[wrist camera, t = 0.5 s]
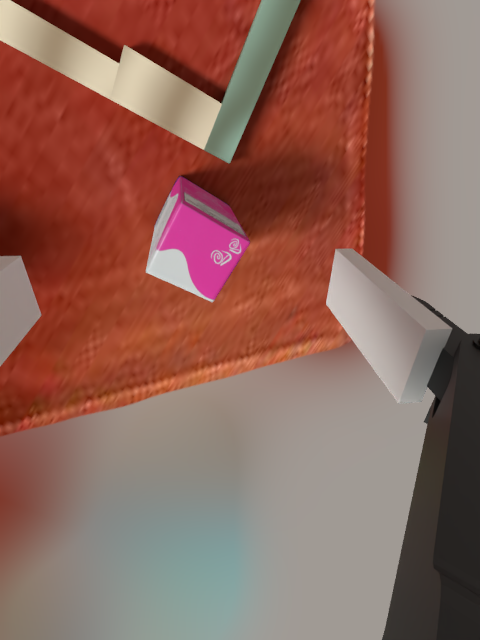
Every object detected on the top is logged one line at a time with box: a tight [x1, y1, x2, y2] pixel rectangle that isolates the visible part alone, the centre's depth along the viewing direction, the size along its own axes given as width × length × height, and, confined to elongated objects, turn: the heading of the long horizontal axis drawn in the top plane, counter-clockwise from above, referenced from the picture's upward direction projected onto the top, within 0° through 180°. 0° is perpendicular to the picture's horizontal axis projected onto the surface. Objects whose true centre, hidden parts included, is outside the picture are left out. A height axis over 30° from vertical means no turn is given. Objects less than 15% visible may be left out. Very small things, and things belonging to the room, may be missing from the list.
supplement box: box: [146, 176, 250, 302], centre depth 28 cm, size 6×6×12 cm
